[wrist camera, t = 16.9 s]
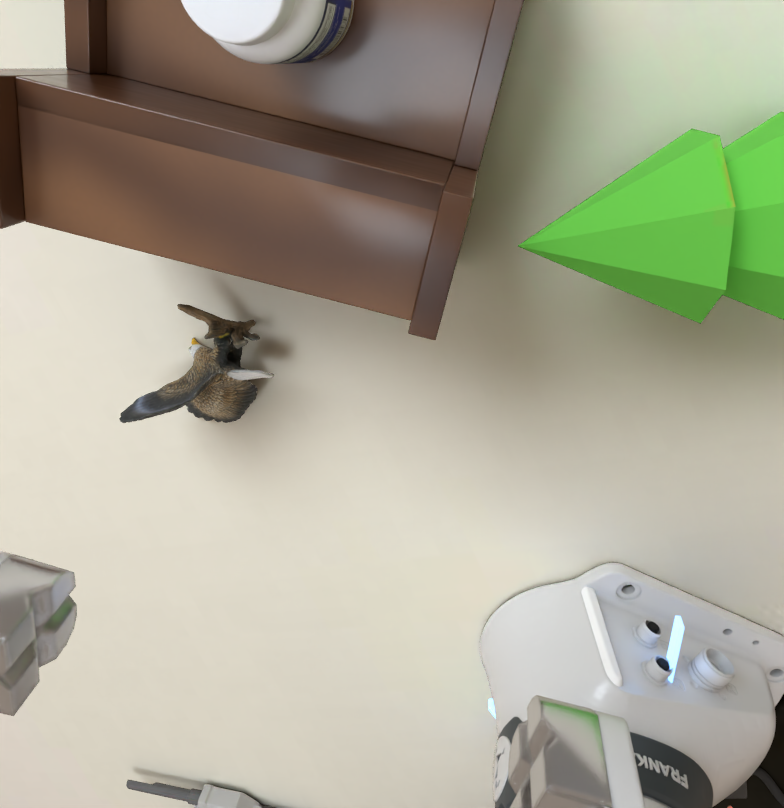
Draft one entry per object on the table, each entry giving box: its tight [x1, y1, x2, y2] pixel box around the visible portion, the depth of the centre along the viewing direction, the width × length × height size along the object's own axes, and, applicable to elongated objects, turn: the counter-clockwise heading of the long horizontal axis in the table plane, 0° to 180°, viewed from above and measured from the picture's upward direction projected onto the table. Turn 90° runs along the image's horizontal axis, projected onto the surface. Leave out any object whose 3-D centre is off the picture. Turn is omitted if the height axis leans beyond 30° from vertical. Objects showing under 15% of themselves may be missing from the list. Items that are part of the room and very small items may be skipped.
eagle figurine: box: [120, 304, 274, 423], centre depth 40 cm, size 8×7×9 cm
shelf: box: [0, 0, 524, 340], centre depth 28 cm, size 16×20×12 cm
